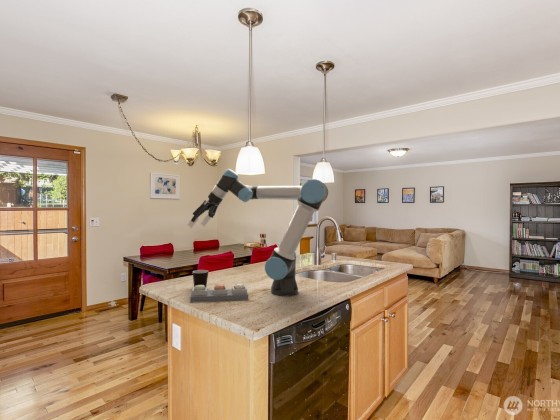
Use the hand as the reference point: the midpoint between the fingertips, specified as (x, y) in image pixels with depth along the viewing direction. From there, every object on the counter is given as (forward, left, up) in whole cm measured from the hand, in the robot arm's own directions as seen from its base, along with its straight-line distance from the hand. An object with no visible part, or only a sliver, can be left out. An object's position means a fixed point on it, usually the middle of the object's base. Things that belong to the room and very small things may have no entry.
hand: (196, 225), depth 172 cm
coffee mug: (-3, -3, -36) cm, 36 cm away
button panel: (-13, +16, -36) cm, 41 cm away
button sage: (-3, +16, -32) cm, 36 cm away
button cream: (-23, +16, -32) cm, 42 cm away
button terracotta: (-13, +16, -32) cm, 38 cm away
